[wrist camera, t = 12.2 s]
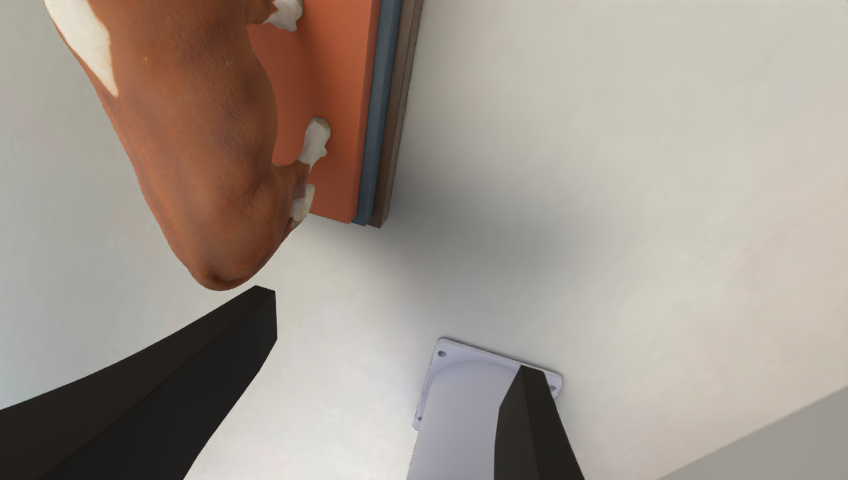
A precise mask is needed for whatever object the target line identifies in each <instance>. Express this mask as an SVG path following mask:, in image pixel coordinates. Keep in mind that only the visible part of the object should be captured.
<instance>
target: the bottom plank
mask: <svg viewBox="0 0 848 480" xmlns="http://www.w3.org/2000/svg"><path fill="white" fill-rule="evenodd" d="M422 1H423V0H402V4H401V11H400V18H399V26H398V33H397V40H396V47H395V54H394V61H393V69H392V76H391V83H390V90H389V97H388V104H387V112H386V119H385V126H384V133H383V140H382V147H381V155H380V162H379V169H378V176H377V183H376V190H375V198H374V205H373V212H372V218H371V219H370V221H369V222H368V223H367V225H370V226H373V227H377V228H381V226H382V225H383V223H384V222H385V221H386V219H387V215H388V209H389V203H390V197H391V191H392V185H393V179H394V173H395V167H396V160H397V154H398V148H399V142H400V136H401V130H402V124H403V118H404V111H405V105H406V99H407V93H408V87H409V81H410V75H411V69H412V63H413V56H414V50H415V44H416V38H417V32H418V26H419V20H420V14H421V8H422Z"/></svg>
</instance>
